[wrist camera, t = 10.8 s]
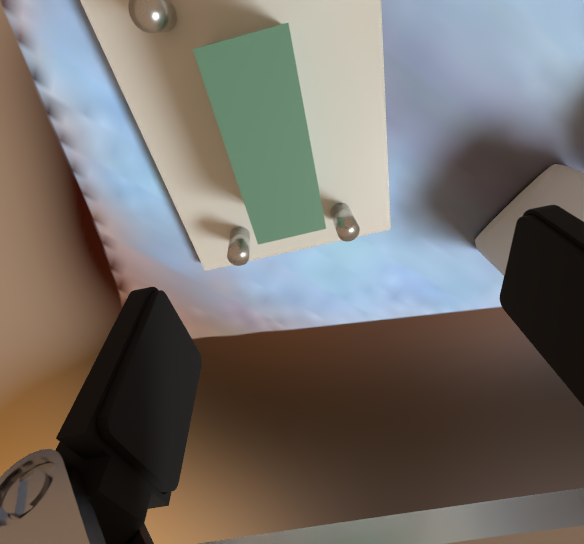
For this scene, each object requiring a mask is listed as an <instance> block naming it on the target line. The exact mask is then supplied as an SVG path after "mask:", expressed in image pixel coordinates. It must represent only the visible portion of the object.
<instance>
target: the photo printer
mask: <svg viewBox="0 0 584 544" xmlns="http://www.w3.org/2000/svg"><path fill="white" fill-rule="evenodd" d="M548 205H557V206H559V207H561V208H563V209H564V210H566V211H567V212H569V213H571V214H572V215H574V216H575V217H577V218H579V219H580V220H582V221H583V222H584V173H582V172H580V171H578V170H575V169H573V168H571V167H568V166H565V165H558V164H554V165H552V166H550V167H549V168H548V169H546V170H545V171H544V172H543V173H541V174H540V175H539V176H538V177H537V178H536V179H535V180H534V181H533V182H532V183H531V184H529V185H528V186H527V187H526V188H525V189H524V190H523V191H522V192H521V193H520V194H519V195H518V196H517V197H516V198H515V199H514V200H513V201H512V202H511V203H510V204H509V205H507V206H506V207H505V208H504V209H503V210H502V211H501V212H500V213H499V214H498V215H497V216H496V217H495V218H494V219H493V220H492V221H491V222H490V223H489V224H488V225H487V226H486V227H485V229H484V230H483V231H482V232H481V233H480V234H479V235H478V236H477V238H476V239H475V243H476V247H477V249H478V251H479V252H480V253H481V254H482V255H483V256H484V257H485V258H486V259H487V260H488V261H489V262H490V263H491V264H493V265H494V266H495V267H496V268H497V269H498V270H499V271H500V272H501V273H502V274H503V275H505V271H506V266H507V262H508V258H509V253H510V249H511V244H512V240H513V235H514V231H515V226H516V222H517V220H518V219H519V218H520V217H522V216H523V214H524V213H525V211H527V210H529V209H533V208H538V207H543V206H548Z"/></svg>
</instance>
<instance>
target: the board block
mask: <svg viewBox="0 0 584 544" xmlns="http://www.w3.org/2000/svg"><path fill="white" fill-rule="evenodd" d="M193 52H194V55H195V58H196V61H197V64H198V67H199V70H200V73H201V76H202V79H203V82H204V85H205V88H206V91H207V94H208V97H209V100H210V103H211V106H212V109H213V111H214V114H215V117H216V120H217V123H218V126H219V129H220V132H221V135H222V138H223V141H224V144H225V147H226V150H227V153H228V156H229V159H230V162H231V165H232V168H233V171H234V174H235V177H236V180H237V183H238V186H239V189H240V192H241V195H242V198H243V201H244V204H245V207H246V210H247V213H248V216H249V219H250V222H251V225H252V228H253V231H254V234H255V237H256V240H257V243H258V245H259V244H263V243H267V242H272V241H276V240H280V239H284V238H289V237H293V236H297V235H301V234H306V233H310V232H314V231H319V230H323V229H326V225H325V219H324V214H323V208H322V203H321V198H320V192H319V187H318V181H317V176H316V170H315V165H314V159H313V154H312V149H311V143H310V138H309V132H308V127H307V121H306V116H305V110H304V105H303V100H302V94H301V89H300V83H299V78H298V72H297V67H296V61H295V56H294V50H293V45H292V40H291V34H290V29H289V23H284V24H280V25H276V26H273V27H269V28H265V29H262V30H258V31H255V32H251V33H248V34H244V35H240V36H237V37H233V38H230V39H226V40H222V41H219V42H215V43H212V44H208V45H205V46H201V47H198V48H195V49H193Z"/></svg>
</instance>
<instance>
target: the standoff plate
mask: <svg viewBox="0 0 584 544" xmlns="http://www.w3.org/2000/svg"><path fill="white" fill-rule="evenodd" d="M80 1H81V3H82V6H83V8H84V10H85V12H86V14H87V16H88V18H89V21H90V23H91V25H92V27H93V29H94V31H95V34H96V36H97V38H98V40H99V42H100V44H101V47H102V49H103V51H104V53H105V55H106V57H107V60H108V62H109V64H110V66H111V68H112V70H113V73H114V75H115V77H116V79H117V81H118V83H119V86H120V88H121V90H122V92H123V94H124V96H125V99H126V101H127V103H128V105H129V107H130V109H131V112H132V114H133V116H134V118H135V120H136V122H137V124H138V127H139V129H140V131H141V133H142V135H143V137H144V140H145V142H146V144H147V146H148V148H149V150H150V153H151V155H152V157H153V159H154V161H155V163H156V166H157V168H158V170H159V172H160V174H161V176H162V179H163V181H164V183H165V185H166V187H167V189H168V192H169V194H170V196H171V198H172V200H173V202H174V205H175V207H176V209H177V211H178V213H179V215H180V217H181V220H182V222H183V224H184V226H185V228H186V230H187V233H188V235H189V237H190V239H191V241H192V243H193V246H194V248H195V250H196V252H197V254H198V256H199V259H200V261H201V263H202V265H203V267H204V269H205V271H207V270H211V269H216V268H220V267H225V266H229V265H237V266H240V265H244V264H246V263H247V262H248V261H251V260H256V259H260V258H265V257H269V256H274V255H278V254H283V253H287V252H292V251H296V250H301V249H305V248H309V247H314V246H318V245H323V244H327V243H332V242H336V241H341V240H343V241H352V240H354V239H355V238H356V237H358V236H363V235H367V234H372V233H376V232H381V231H385V230H390V229H391V227H390V203H389V180H388V156H387V133H386V109H385V86H384V62H383V39H382V15H381V0H80ZM284 23H289V29H290V34H291V40H292V45H293V50H294V56H295V61H296V67H297V72H298V78H299V83H300V89H301V94H302V100H303V105H304V110H305V116H306V121H307V127H308V132H309V138H310V143H311V149H312V154H313V159H314V165H315V170H316V176H317V181H318V187H319V192H320V198H321V203H322V208H323V214H324V219H325V225H326V229H323V230H319V231H314V232H310V233H306V234H301V235H297V236H293V237H289V238H284V239H280V240H276V241H272V242H267V243H263V244H259V245H258V243H257V240H256V237H255V234H254V231H253V228H252V225H251V222H250V219H249V216H248V213H247V210H246V207H245V204H244V201H243V198H242V195H241V192H240V189H239V186H238V183H237V180H236V177H235V174H234V171H233V168H232V165H231V162H230V159H229V156H228V153H227V150H226V147H225V144H224V141H223V138H222V135H221V132H220V129H219V126H218V123H217V120H216V117H215V114H214V111H213V109H212V106H211V103H210V100H209V97H208V94H207V91H206V88H205V85H204V82H203V79H202V76H201V73H200V70H199V67H198V64H197V61H196V58H195V55H194V52H193V49H195V48H198V47H201V46H205V45H208V44H212V43H215V42H219V41H222V40H226V39H230V38H233V37H237V36H240V35H244V34H248V33H251V32H255V31H258V30H262V29H265V28H269V27H273V26H276V25H280V24H284Z"/></svg>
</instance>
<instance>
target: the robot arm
mask: <svg viewBox="0 0 584 544" xmlns="http://www.w3.org/2000/svg"><path fill="white" fill-rule="evenodd" d="M500 302H501V305H502V307H503V309H504V310H505V311H506V313H507V314H508V315H509V316H510V317H511V319H512V320H513V321H514V322H515V324H516V325H517V326H518V327H519V328H520V330H521V331H522V332H523V333H524V335H525V336H526V337H527V338H528V339H529V341H530V342H531V343H532V344H533V345H534V347H535V348H536V349H537V350H538V351H539V353H540V354H541V355H542V356H543V358H544V359H545V360H546V361H547V362H548V364H549V365H550V366H551V367H552V368H553V370H554V371H555V372H556V373H557V375H558V376H559V377H560V378H561V379H562V381H563V382H564V383H565V384H566V385H567V387H568V388H569V389H570V390H571V391H572V393H573V394H574V395H575V396H576V398H577V399H578V400H579V401H580V402H581V404H582V405H583V406H584V222H583V221H582V220H580V219H579V218H577V217H575V216H574V215H572V214H571V213H569V212H567V211H566V210H564V209H563V208H561V207H559V206H557V205H548V206H543V207H538V208H533V209H529V210H527V211H525V213H524V214H523V216H522V217H520V218H519V219H518V220H517V222H516V226H515V231H514V235H513V240H512V244H511V249H510V253H509V258H508V262H507V266H506V271H505V275H504V280H503V284H502V289H501V293H500ZM201 363H202V362H201V355H200V352H199V351H198V349H197V347H196V345H195V344H194V342H193V340H192V338H191V337H190V335H189V333H188V331H187V330H186V328H185V326H184V325H183V323H182V321H181V319H180V318H179V316H178V314H177V312H176V311H175V309H174V307H173V305H172V304H171V302H170V300H169V299H168V297H167V295H166V294H165V292H164V291H161V290H160V291H158V289H157V288H155V287H149V288H144V289H139V290H134V291H132V292H131V293H130V294H129V296H128V298H127V300H126V302H125V304H124V306H123V308H122V310H121V312H120V314H119V316H118V318H117V320H116V322H115V324H114V326H113V327H112V330H111V331H110V333H109V335H108V337H107V339H106V341H105V343H104V345H103V347H102V349H101V351H100V353H99V355H98V357H97V359H96V361H95V363H94V365H93V367H92V369H91V371H90V373H89V375H88V377H87V378H86V380H85V382H84V384H83V386H82V388H81V390H80V392H79V394H78V396H77V398H76V400H75V402H74V404H73V406H72V408H71V410H70V412H69V414H68V416H67V418H66V420H65V422H64V424H63V426H62V428H61V430H60V432H59V433H58V436H57V438H56V439H58V440H59V441H60V443H59V445H58V446H57V448H56V450H52V449H45V450H39V451H36V452H34V453H31V454H29V455H27V456H26V457H24V458H22V459H21V460H19V461H18V462H16V463H15V464H14V465H13V466H11V467H10V468H9V469H8V470H7V471H6V472H5V473H4V474H3V475H2V476H1V477H0V544H154V543H153V541H152V538H151V536H150V534H149V532H148V530H147V528H146V526H145V524H144V521H145V517H146V513H147V509H149V508H155V507H163V506H168V505H169V501H170V496H171V491H174V490H175V489H176V488H177V486H178V482H179V478H180V473H181V468H182V463H183V457H184V452H185V447H186V442H187V437H188V432H189V427H190V421H191V416H192V411H193V406H194V401H195V396H196V390H197V385H198V380H199V375H200V369H201ZM200 544H584V488H583V489H575V490H569V491H561V492H553V493H546V494H539V495H532V496H525V497H517V498H510V499H503V500H496V501H489V502H482V503H475V504H468V505H461V506H454V507H447V508H440V509H433V510H426V511H419V512H411V513H405V514H398V515H391V516H384V517H377V518H370V519H363V520H357V521H349V522H342V523H335V524H328V525H321V526H315V527H308V528H301V529H294V530H288V531H281V532H274V533H267V534H261V535H254V536H247V537H241V538H233V539H227V540H220V541H214V542H206V543H200Z"/></svg>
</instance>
